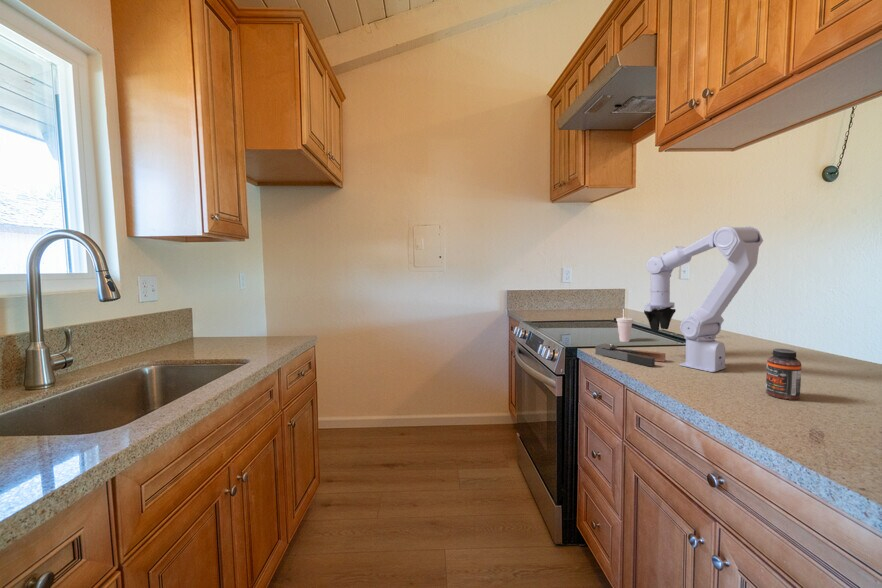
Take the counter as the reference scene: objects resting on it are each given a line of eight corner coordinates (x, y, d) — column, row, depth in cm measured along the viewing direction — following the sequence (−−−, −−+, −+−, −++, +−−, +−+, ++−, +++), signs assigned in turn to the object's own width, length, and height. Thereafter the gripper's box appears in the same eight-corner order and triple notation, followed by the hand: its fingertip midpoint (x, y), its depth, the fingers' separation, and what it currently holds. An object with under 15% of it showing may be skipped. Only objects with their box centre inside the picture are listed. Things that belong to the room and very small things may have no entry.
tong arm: (665, 360, 117) (665, 352, 117) (664, 362, 115) (664, 354, 115) (609, 353, 128) (609, 346, 128) (607, 355, 126) (607, 348, 126)
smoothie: (612, 340, 150) (612, 308, 149) (622, 338, 153) (623, 307, 152) (626, 343, 144) (626, 309, 143) (636, 341, 147) (636, 308, 146)
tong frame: (659, 365, 112) (659, 352, 112) (651, 367, 110) (651, 354, 110) (602, 352, 131) (602, 341, 131) (594, 354, 129) (594, 343, 128)
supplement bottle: (759, 394, 86) (761, 349, 85) (774, 390, 88) (775, 346, 87) (791, 402, 80) (793, 354, 79) (805, 398, 82) (807, 351, 81)
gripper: (660, 289, 128) (660, 326, 129) (636, 292, 121) (636, 330, 122) (680, 290, 122) (680, 328, 123) (656, 293, 115) (656, 333, 116)
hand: (659, 329), depth 122 cm, fingers open, 5 cm apart
